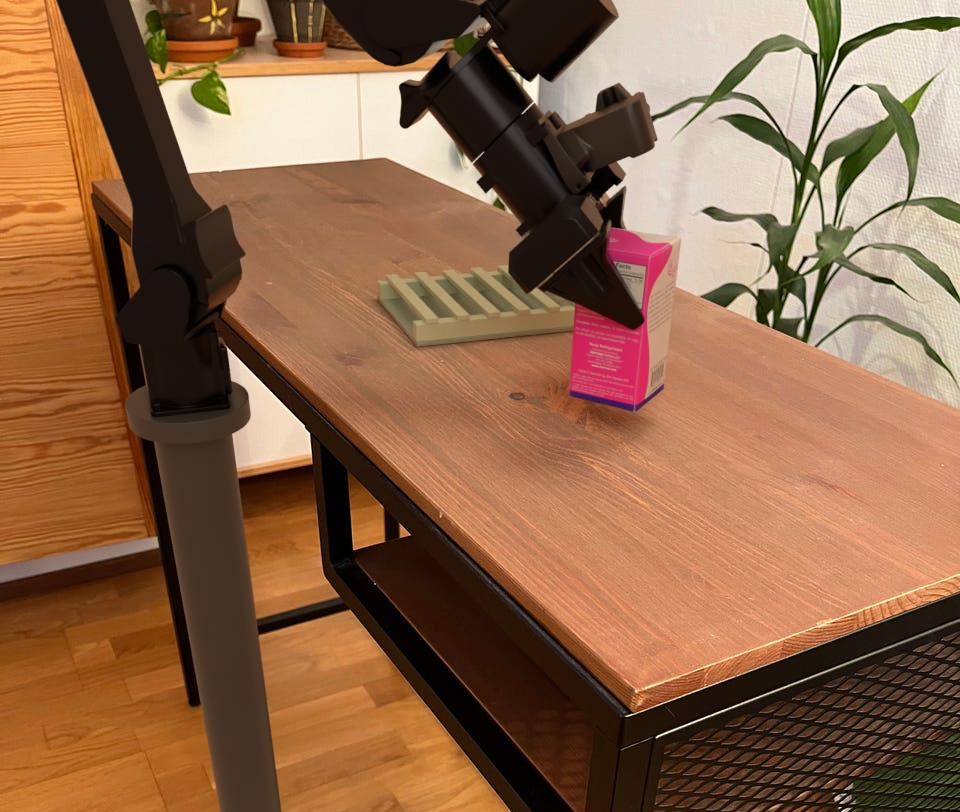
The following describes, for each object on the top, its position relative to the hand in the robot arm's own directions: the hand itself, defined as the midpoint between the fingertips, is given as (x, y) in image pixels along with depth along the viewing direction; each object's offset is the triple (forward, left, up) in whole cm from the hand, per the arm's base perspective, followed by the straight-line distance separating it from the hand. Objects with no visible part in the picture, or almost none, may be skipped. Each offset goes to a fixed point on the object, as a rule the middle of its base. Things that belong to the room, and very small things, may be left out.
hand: (644, 309), depth 76 cm
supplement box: (-1, +1, -7) cm, 7 cm away
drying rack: (-2, +29, -9) cm, 30 cm away
